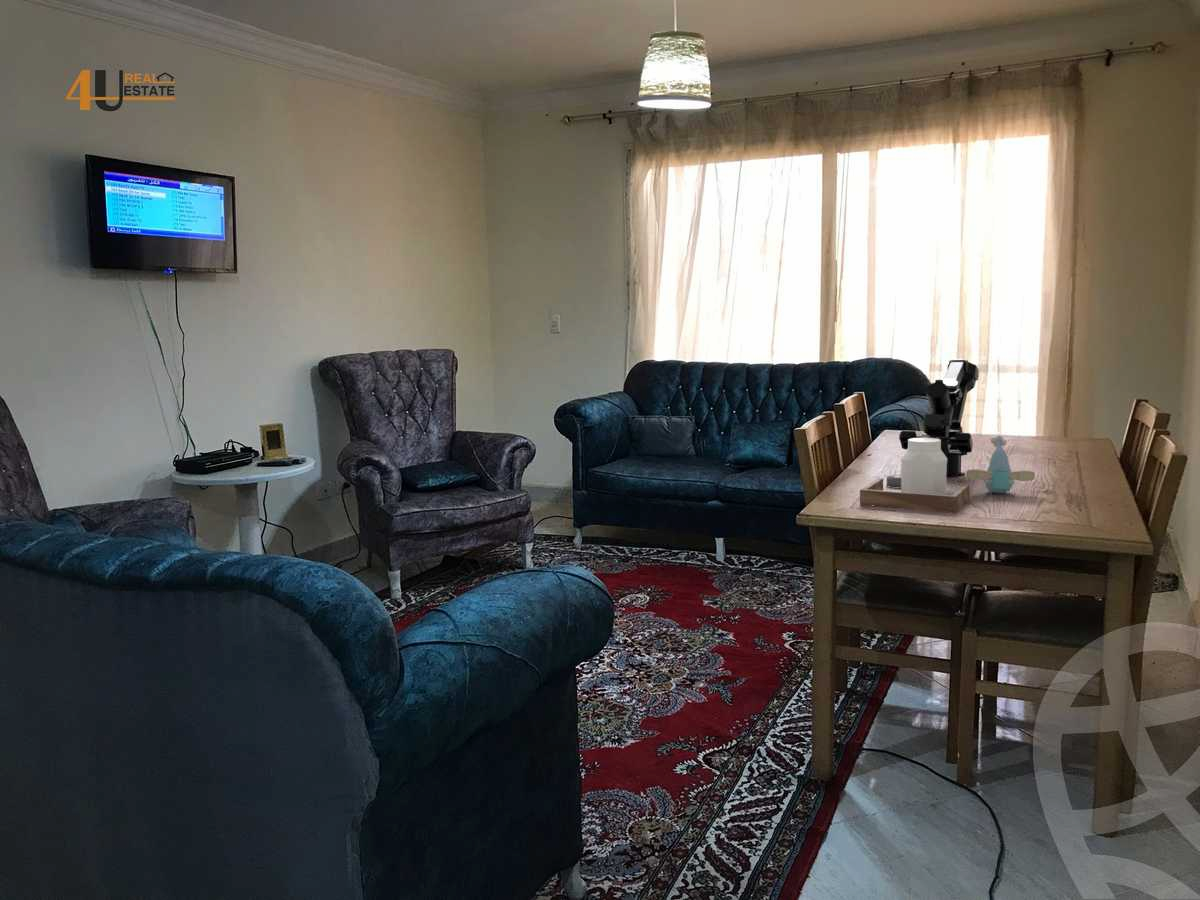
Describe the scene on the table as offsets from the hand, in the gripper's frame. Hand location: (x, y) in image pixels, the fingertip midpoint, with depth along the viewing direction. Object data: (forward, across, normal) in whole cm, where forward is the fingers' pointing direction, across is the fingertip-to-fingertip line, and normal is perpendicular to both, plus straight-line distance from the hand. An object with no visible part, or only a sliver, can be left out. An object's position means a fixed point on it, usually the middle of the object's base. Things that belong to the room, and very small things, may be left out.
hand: (930, 465), depth 257 cm
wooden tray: (+17, 0, -7) cm, 18 cm away
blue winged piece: (+3, +17, +7) cm, 19 cm away
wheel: (+3, -9, +7) cm, 12 cm away
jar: (+10, 0, 0) cm, 10 cm away
